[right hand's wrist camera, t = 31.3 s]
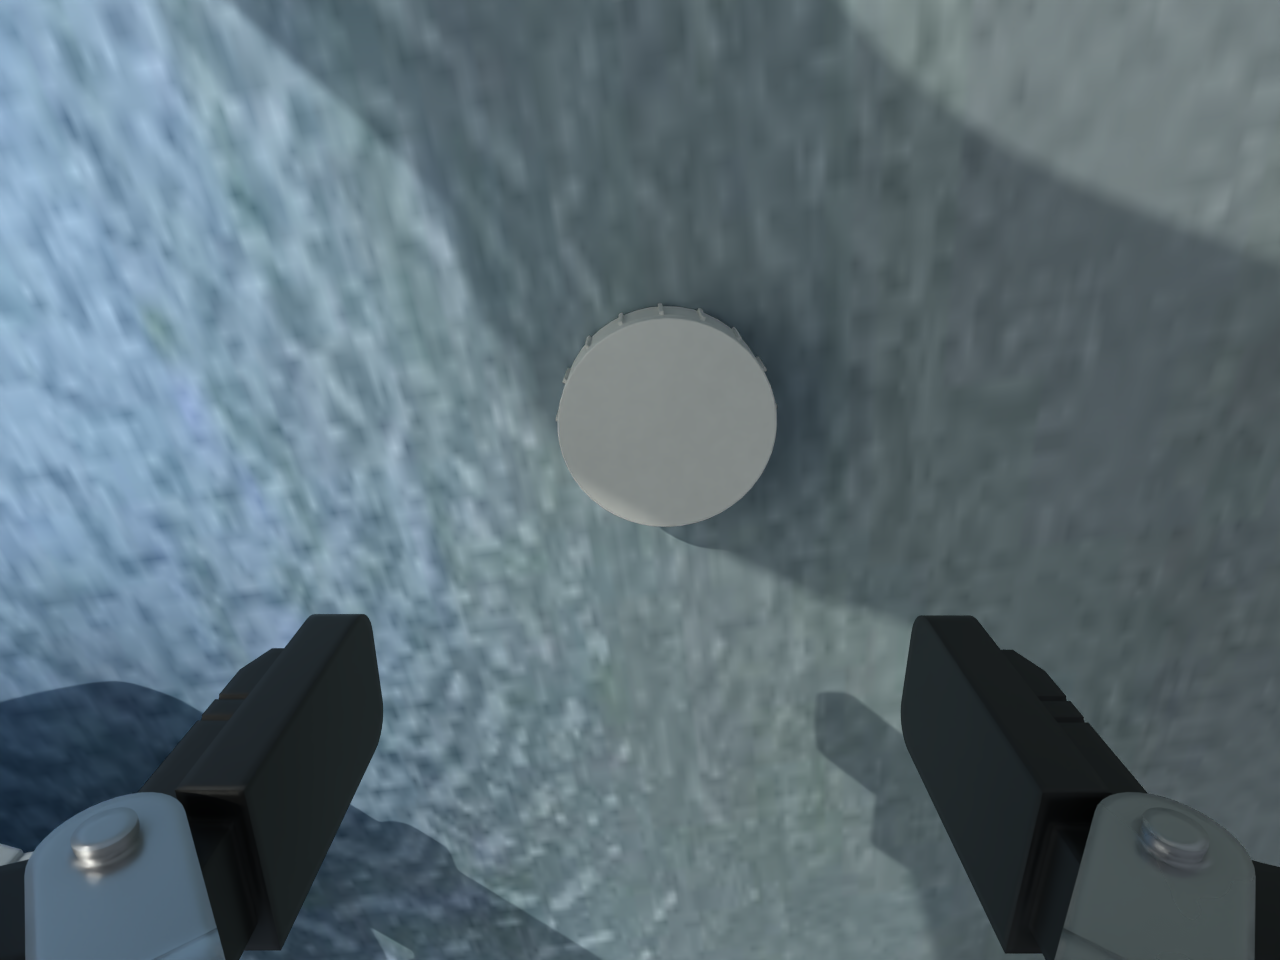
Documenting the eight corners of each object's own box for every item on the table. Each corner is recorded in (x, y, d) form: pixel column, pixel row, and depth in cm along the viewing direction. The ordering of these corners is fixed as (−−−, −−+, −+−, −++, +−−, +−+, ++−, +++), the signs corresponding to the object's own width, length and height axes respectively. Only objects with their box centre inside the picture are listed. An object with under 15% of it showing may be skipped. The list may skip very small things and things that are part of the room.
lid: (759, 286, 19) (770, 297, 18) (778, 488, 21) (789, 514, 20) (542, 320, 19) (534, 334, 18) (582, 515, 21) (577, 543, 20)
